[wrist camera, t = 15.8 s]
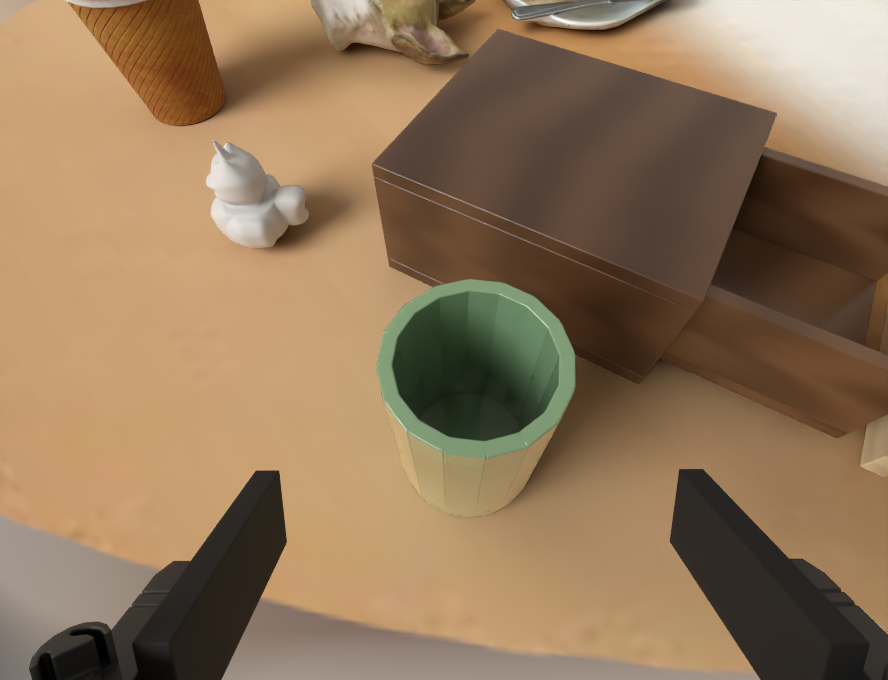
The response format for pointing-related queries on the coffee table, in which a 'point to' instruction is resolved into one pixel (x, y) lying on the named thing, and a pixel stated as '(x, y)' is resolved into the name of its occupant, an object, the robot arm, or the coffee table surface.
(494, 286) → the pot
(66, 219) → the coffee table surface
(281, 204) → the white animal figurine
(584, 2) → the avocado toast plate
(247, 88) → the coffee table surface
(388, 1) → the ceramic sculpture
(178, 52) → the disposable coffee cup
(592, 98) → the cabinet
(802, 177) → the drawer
